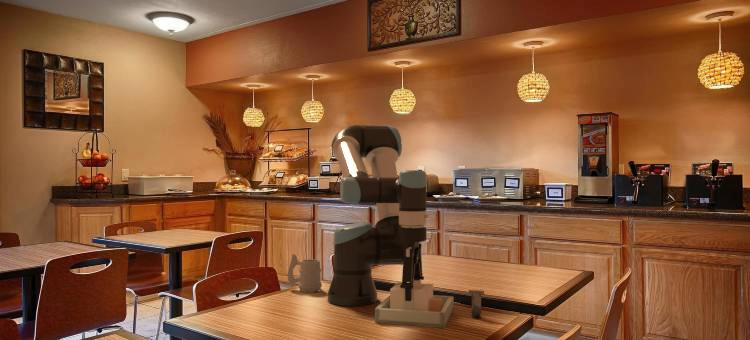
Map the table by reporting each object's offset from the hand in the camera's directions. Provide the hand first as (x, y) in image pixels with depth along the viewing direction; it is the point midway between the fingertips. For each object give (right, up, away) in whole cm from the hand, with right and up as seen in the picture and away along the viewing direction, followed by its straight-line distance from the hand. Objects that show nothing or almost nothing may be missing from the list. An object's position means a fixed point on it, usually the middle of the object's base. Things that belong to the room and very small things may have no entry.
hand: (412, 307), depth 143 cm
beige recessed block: (+1, 0, 0) cm, 1 cm away
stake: (+17, -2, -3) cm, 17 cm away
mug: (-34, -3, +32) cm, 47 cm away
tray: (+1, -2, 0) cm, 2 cm away
